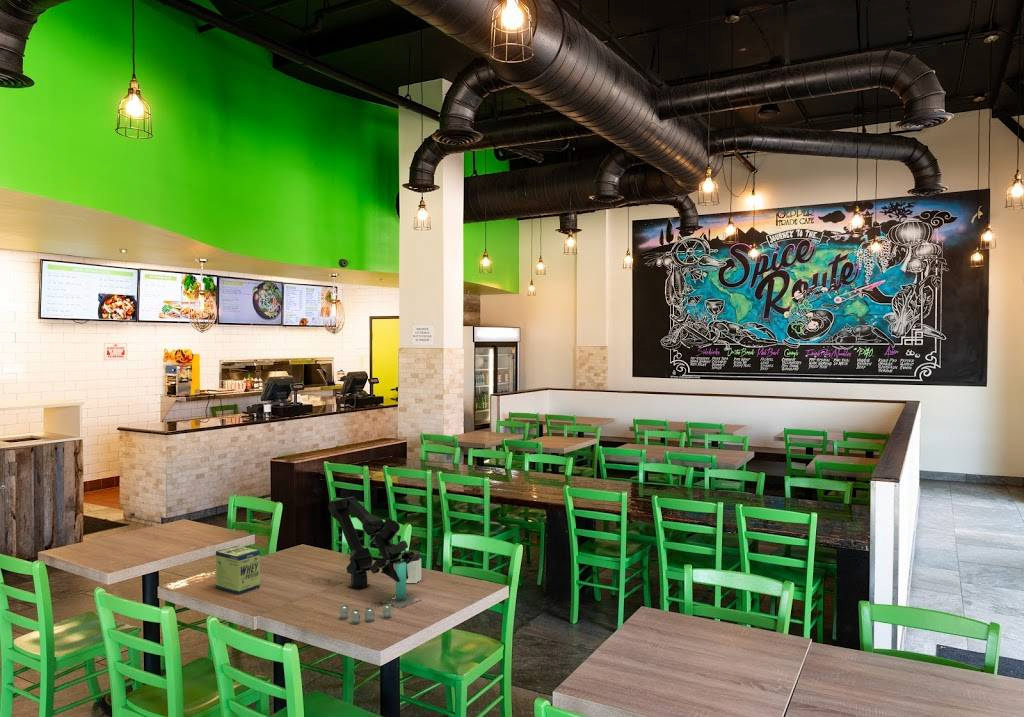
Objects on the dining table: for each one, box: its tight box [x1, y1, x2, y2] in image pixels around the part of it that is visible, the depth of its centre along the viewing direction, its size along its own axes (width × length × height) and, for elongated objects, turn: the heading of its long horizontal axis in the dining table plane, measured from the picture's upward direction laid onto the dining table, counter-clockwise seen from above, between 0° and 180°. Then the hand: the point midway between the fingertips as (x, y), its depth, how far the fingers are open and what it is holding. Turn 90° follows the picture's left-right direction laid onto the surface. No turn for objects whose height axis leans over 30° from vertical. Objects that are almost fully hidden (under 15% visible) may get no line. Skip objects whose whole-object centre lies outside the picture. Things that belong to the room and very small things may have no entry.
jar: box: [400, 549, 422, 584], centre depth 299 cm, size 9×8×12 cm
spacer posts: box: [339, 604, 392, 625], centre depth 257 cm, size 15×14×4 cm
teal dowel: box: [395, 562, 407, 598], centre depth 274 cm, size 4×4×13 cm
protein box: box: [215, 545, 261, 595], centre depth 290 cm, size 10×16×16 cm
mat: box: [381, 594, 416, 608], centre depth 274 cm, size 11×11×1 cm
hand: (403, 580), depth 273 cm, fingers closed on teal dowel, 4 cm apart
